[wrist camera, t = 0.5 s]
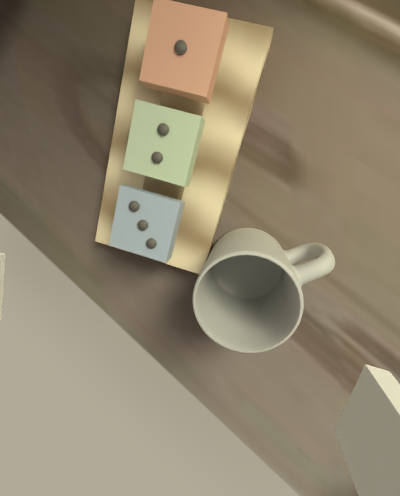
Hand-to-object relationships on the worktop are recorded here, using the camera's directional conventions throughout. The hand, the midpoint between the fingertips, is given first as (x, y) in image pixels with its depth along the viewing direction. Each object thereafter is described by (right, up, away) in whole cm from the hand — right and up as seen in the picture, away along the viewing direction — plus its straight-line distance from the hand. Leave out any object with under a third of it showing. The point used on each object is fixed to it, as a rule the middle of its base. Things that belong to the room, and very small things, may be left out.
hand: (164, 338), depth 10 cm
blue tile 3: (-4, +6, +20) cm, 21 cm away
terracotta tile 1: (0, +20, +16) cm, 26 cm away
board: (-1, +14, +20) cm, 24 cm away
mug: (+8, +2, +21) cm, 23 cm away
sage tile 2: (-2, +13, +18) cm, 23 cm away
